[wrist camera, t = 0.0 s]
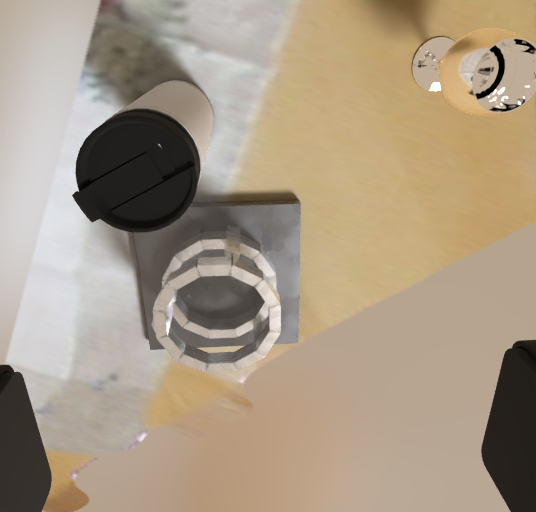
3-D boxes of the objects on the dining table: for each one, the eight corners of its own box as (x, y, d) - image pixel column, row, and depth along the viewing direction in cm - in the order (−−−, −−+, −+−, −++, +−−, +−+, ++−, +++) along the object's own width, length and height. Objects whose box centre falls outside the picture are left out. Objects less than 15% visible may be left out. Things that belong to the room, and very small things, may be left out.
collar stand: (132, 205, 45) (111, 240, 38) (299, 199, 46) (311, 233, 38) (152, 343, 52) (137, 397, 45) (296, 336, 53) (307, 388, 45)
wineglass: (392, 80, 42) (446, 97, 31) (429, 15, 40) (500, 9, 29) (444, 110, 43) (513, 136, 33) (483, 48, 41) (570, 54, 31)
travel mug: (125, 103, 42) (40, 158, 23) (191, 66, 41) (154, 93, 22) (164, 165, 44) (114, 258, 26) (227, 131, 43) (219, 204, 25)
